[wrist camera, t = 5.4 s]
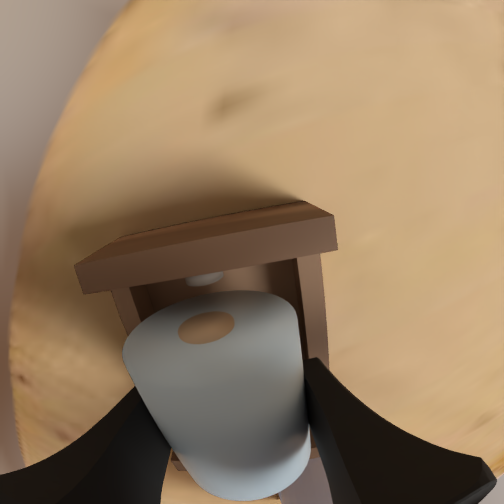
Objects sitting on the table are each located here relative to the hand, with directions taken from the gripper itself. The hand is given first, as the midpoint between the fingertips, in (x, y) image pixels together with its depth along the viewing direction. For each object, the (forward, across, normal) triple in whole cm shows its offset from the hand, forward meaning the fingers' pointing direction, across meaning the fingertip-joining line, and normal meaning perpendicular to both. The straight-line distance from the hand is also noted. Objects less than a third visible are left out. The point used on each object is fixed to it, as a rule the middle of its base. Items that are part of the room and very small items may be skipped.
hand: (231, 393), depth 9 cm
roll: (+2, 0, 0) cm, 2 cm away
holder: (+4, 0, 0) cm, 4 cm away
